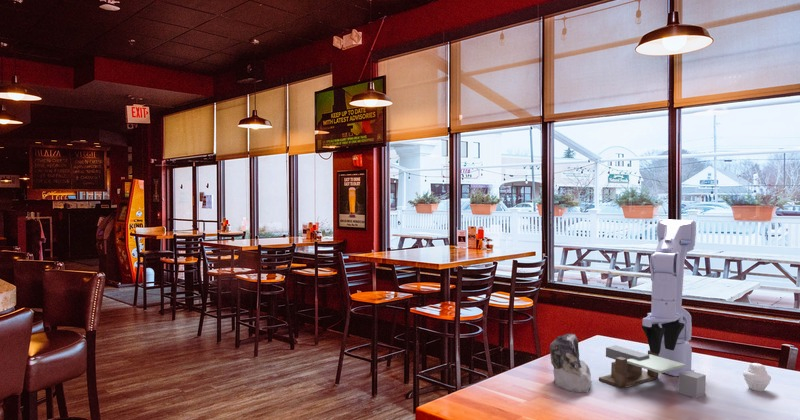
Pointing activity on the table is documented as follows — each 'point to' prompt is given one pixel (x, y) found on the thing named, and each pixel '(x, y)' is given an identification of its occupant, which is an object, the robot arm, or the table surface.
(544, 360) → the table surface
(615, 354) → the trapdoor
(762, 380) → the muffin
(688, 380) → the granite cube
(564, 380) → the stone
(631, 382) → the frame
